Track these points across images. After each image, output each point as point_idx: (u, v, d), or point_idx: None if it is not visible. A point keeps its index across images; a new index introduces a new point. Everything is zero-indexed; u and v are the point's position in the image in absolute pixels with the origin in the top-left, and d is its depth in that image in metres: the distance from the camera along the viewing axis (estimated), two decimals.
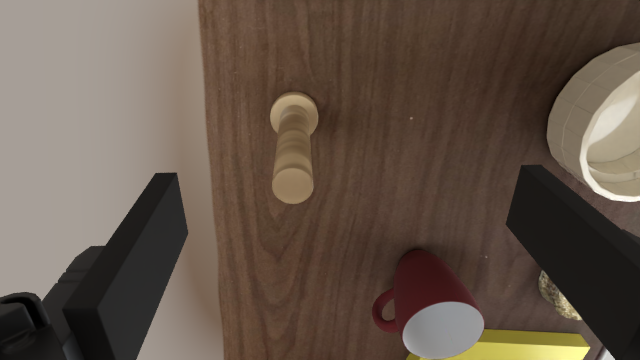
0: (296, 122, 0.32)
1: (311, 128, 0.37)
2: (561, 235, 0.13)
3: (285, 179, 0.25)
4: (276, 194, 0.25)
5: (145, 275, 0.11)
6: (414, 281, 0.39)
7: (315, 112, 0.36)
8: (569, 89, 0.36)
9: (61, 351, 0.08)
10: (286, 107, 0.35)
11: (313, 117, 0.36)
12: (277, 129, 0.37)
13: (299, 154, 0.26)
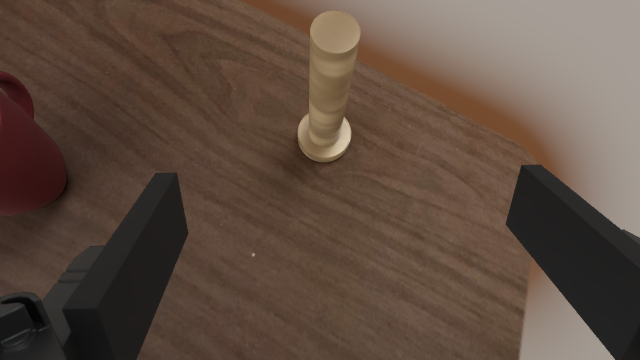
0: (342, 116, 0.28)
1: (305, 143, 0.32)
2: (561, 235, 0.13)
3: (348, 28, 0.20)
4: (334, 12, 0.20)
5: (145, 275, 0.11)
6: (39, 146, 0.26)
7: (320, 155, 0.32)
8: None
9: (61, 351, 0.08)
10: (340, 130, 0.32)
11: (315, 150, 0.32)
12: None
13: (348, 71, 0.22)
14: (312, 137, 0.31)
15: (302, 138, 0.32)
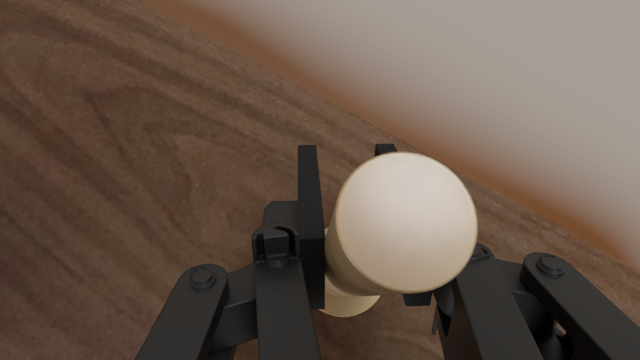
0: None
1: None
2: None
3: (442, 209, 0.07)
4: (401, 156, 0.07)
5: None
6: None
7: (335, 312, 0.19)
8: None
9: (303, 280, 0.10)
10: None
11: (327, 303, 0.19)
12: None
13: None
14: None
15: None
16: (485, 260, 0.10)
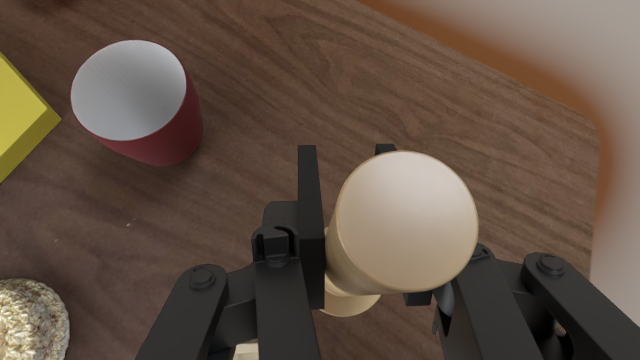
0: None
1: None
2: None
3: (443, 208, 0.07)
4: (402, 155, 0.07)
5: None
6: (198, 105, 0.31)
7: (335, 311, 0.19)
8: None
9: (303, 280, 0.10)
10: None
11: (328, 303, 0.19)
12: None
13: None
14: None
15: None
16: (485, 260, 0.10)
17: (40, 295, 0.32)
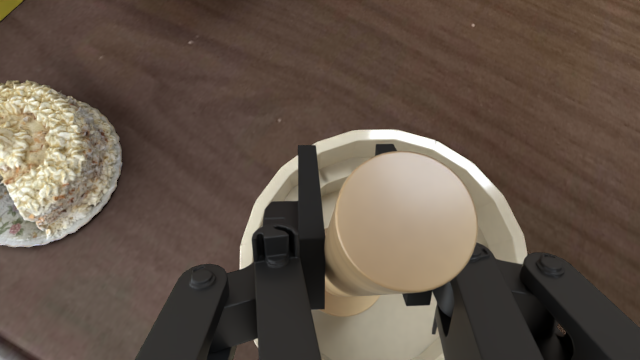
0: None
1: None
2: None
3: (442, 209, 0.07)
4: (401, 155, 0.07)
5: None
6: None
7: (335, 312, 0.19)
8: None
9: (303, 280, 0.10)
10: None
11: (327, 303, 0.19)
12: None
13: None
14: None
15: None
16: (485, 260, 0.10)
17: None
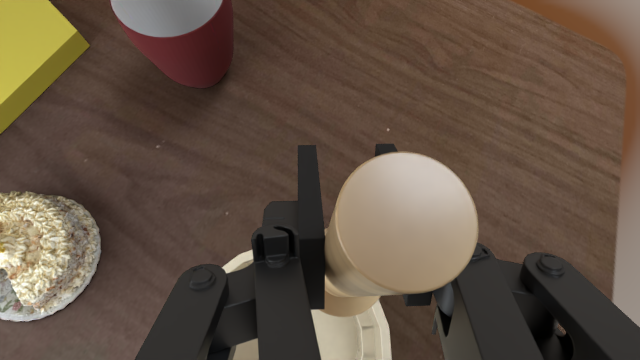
0: None
1: None
2: None
3: (443, 210, 0.07)
4: (402, 156, 0.07)
5: None
6: None
7: (335, 312, 0.19)
8: None
9: (303, 280, 0.10)
10: None
11: (327, 303, 0.19)
12: None
13: None
14: None
15: None
16: (485, 260, 0.10)
17: (71, 209, 0.32)
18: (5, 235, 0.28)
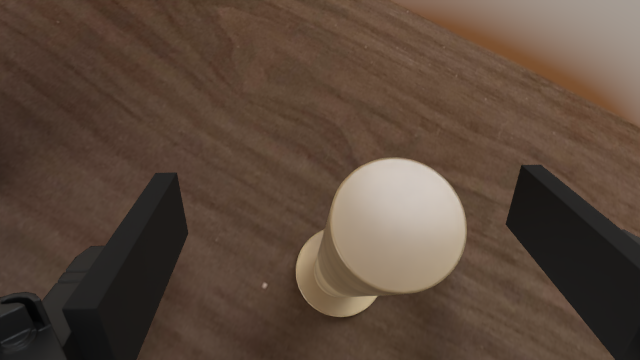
0: None
1: (307, 290, 0.19)
2: (561, 235, 0.13)
3: (432, 213, 0.07)
4: (393, 162, 0.08)
5: (145, 275, 0.11)
6: None
7: (332, 312, 0.19)
8: None
9: (61, 351, 0.08)
10: None
11: (325, 304, 0.19)
12: None
13: None
14: (320, 286, 0.19)
15: (303, 281, 0.19)
16: None
17: None
18: None
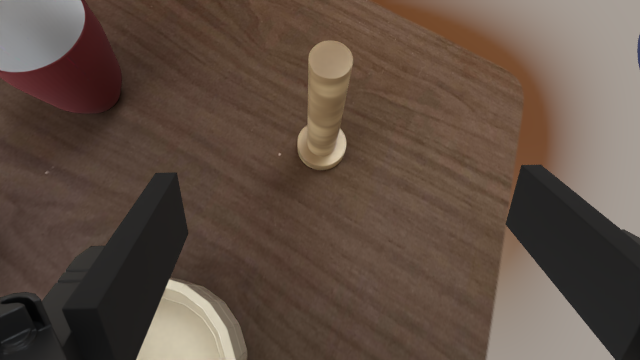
0: (337, 130, 0.31)
1: (303, 152, 0.35)
2: (561, 235, 0.13)
3: (342, 57, 0.23)
4: (330, 41, 0.23)
5: (145, 275, 0.11)
6: (108, 48, 0.31)
7: (317, 163, 0.35)
8: (229, 311, 0.30)
9: (61, 351, 0.08)
10: (336, 140, 0.35)
11: (313, 159, 0.35)
12: None
13: (342, 92, 0.25)
14: (310, 147, 0.34)
15: (301, 148, 0.35)
16: None
17: None
18: None
